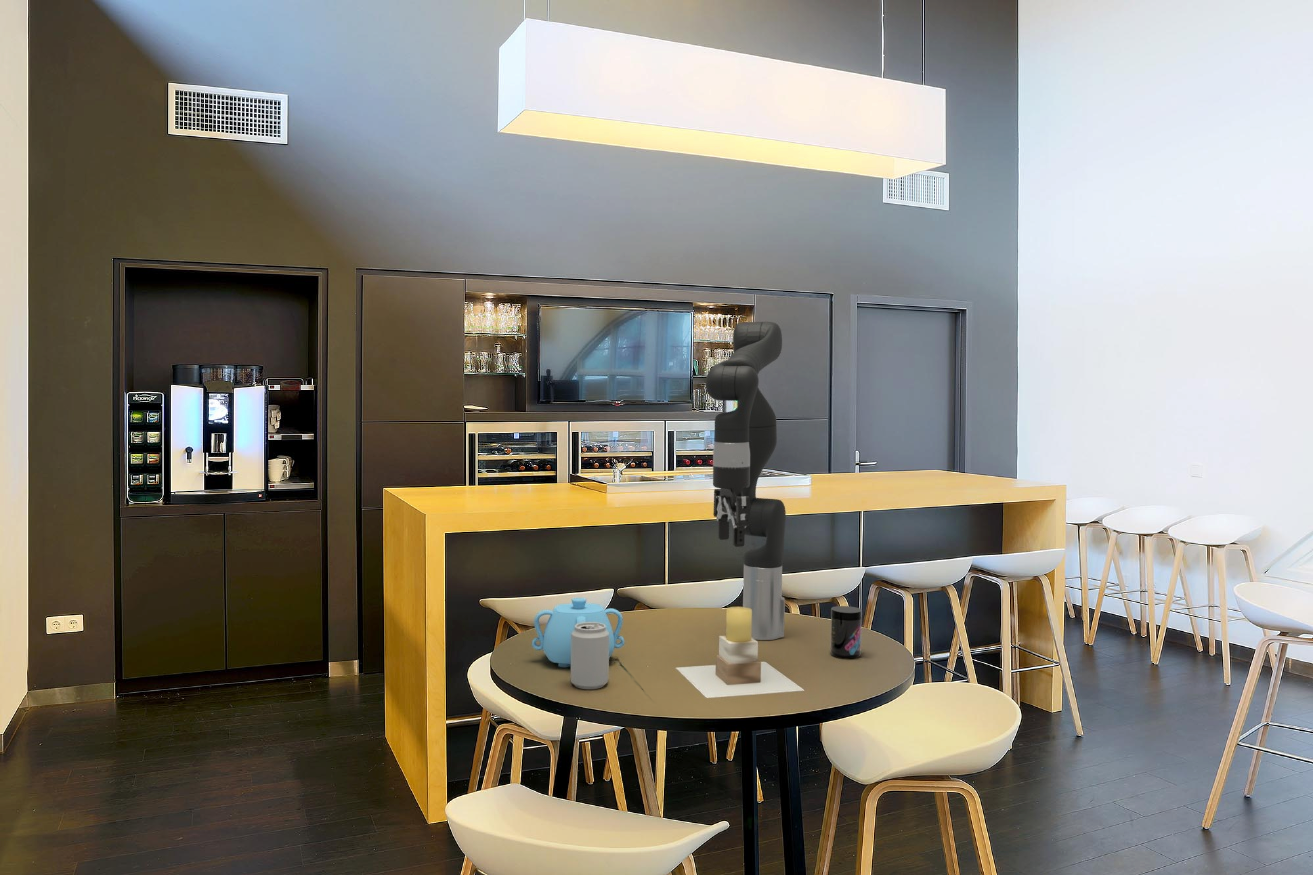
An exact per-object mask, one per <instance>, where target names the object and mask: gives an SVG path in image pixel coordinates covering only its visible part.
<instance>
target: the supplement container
mask: <svg viewBox="0 0 1313 875" xmlns="http://www.w3.org/2000/svg"><path fill="white" fill-rule="evenodd" d="M862 615H863V610H862V608H859V607H855V606H849V605H839V606H832V607H831V609H830V617H831V618H830V651H829V652H830V655H831V656H832V657H835V658H836V659H837V658H838V659H842V660H854V659H857V658H859V657H861V652H862V651H861V650H862V617H863V616H862Z"/></svg>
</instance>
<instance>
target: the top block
mask: <svg viewBox="0 0 1313 875" xmlns="http://www.w3.org/2000/svg"><path fill="white" fill-rule="evenodd" d="M718 638H719V639H718V644H719V645H718V655H719V656H720V657H721V658H722V659H724V660H725V661H726V662H727V663H729V664H736V663H751V662H758V661H759V654H758V653H759V642H758V640H756V639H753V638H751V641H749V642H742V643H739V642H731V641H728V640H726V635H719V636H718Z"/></svg>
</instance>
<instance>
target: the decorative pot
mask: <svg viewBox="0 0 1313 875" xmlns="http://www.w3.org/2000/svg"><path fill="white" fill-rule="evenodd" d="M608 614H613V615H616V617H617V624H616V628H615V630H614V631H613V626H612V625H611V621H610V619H609V617H608ZM546 615H548V616H549V618H548V620H547V622H546V625H545V628H544V631H543V632H542V629H541V626H540V618H541V617H543V616H546ZM623 618H624V617H623V615H622V613H621V612H620V611H619V610H617V609H616V608H611V607H610V608H605V609H604V607H603V606H602V605H601V604H597V603H590V602H587V598H585V597H574V598H572V599H571V602H570V603H560V604H557V605H555V606H554V608H553V609H552V610H550V609H544V610H541V611H539V612H538V613H537V614H536V615H535V616H534V619H533V624H534V628H535V631H536V634H537V637H534V638H533V639H532V641H531V647H532V648H533V649H534V650H537V651H542V650H543V652H544V655H545V656H546V657H547V658H548V659H547V660H548V661H550V662H551V663H555V664H558V667H560V668H569V667H571V633H572V632H573V631H574V629H575V627H574V626H575V625H576V624H578V623H583V622H598V623H603V624H605V625H606V628H605V629H606V630H607V631H608V632H609V659H610V657H611V656H612V655H613V653H614V650H615V649H621V648H623V647H624V645H625V643H626V642H625V638H624V637H623V636H622V635H619V634H620V632H621V629H622V627H623V623H624V619H623ZM618 640H620V642H619V643H618V642H617V641H618ZM538 641H539V645H538V644H537V642H538Z"/></svg>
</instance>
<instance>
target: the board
mask: <svg viewBox="0 0 1313 875" xmlns="http://www.w3.org/2000/svg"><path fill="white" fill-rule="evenodd" d="M760 662H761V683H748V684H735V685H727V684H726V683H724V682H723V681H722V680H721V679H720V678H719V677H718V676H716V675H715V673H716V664H712V665H710V664H709V665H695V666H681V667H675V669H676V671H678V672H679V673H680V674H681V675H682V676H683V677H684V678H685V679H687V681H688V682H689V683H690V684H692V685H693V687H695V689H697V690H698V691H699V692H700V693H701V694H702V696H703V697H705V698H706V699H713V698H714V699H715V698H726V697H727V698H728V697H740V696H752V695H753V696H754V695H755V696H756V695H765V694H766V695H767V694H777V693H790V692H792V693H793V692H803V691H806V690H805V689H803V687H801V686H799V685H798V684H797V683H795V682H794V681H793V680H791V679H790V678H789V677H787V676H785V675H784V674H783V673H782V672H780V671H778V669H776V668H775V667H773V666H772V665H770V664H769V663H768V662H766V661H760Z"/></svg>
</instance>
